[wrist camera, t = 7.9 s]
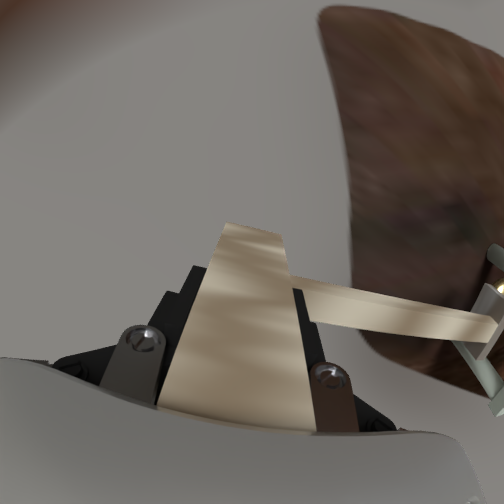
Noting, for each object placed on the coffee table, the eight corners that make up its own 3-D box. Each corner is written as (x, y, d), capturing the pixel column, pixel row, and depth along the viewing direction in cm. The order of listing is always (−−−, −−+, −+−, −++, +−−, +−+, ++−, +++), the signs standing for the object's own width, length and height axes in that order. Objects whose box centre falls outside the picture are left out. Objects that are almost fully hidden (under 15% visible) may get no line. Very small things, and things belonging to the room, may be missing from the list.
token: (513, 281, 21) (520, 287, 19) (493, 318, 22) (500, 325, 21) (493, 273, 20) (501, 279, 19) (472, 314, 22) (478, 322, 21)
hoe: (492, 285, 16) (594, 395, 3) (464, 336, 18) (542, 455, 5) (228, 212, 15) (114, 514, 2) (212, 292, 17) (146, 541, 4)
